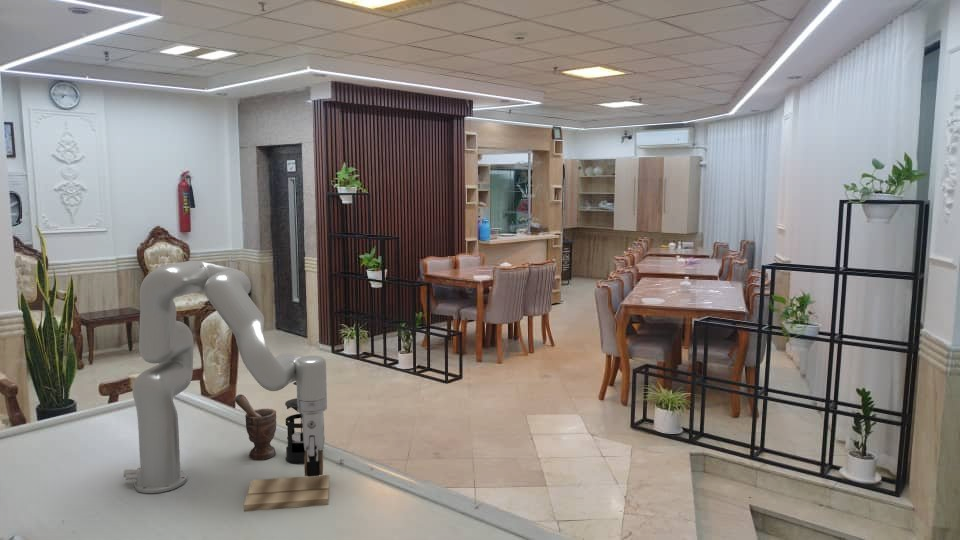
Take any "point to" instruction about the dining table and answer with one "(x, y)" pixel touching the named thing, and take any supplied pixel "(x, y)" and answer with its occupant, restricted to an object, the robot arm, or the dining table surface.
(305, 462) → the walnut block
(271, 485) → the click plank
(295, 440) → the french press
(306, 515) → the dining table surface
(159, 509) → the dining table surface
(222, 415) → the dining table surface
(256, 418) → the mortar and pestle
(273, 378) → the robot arm
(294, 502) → the laid board
